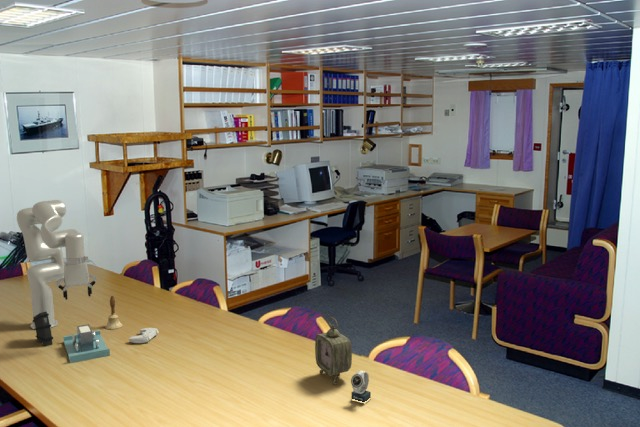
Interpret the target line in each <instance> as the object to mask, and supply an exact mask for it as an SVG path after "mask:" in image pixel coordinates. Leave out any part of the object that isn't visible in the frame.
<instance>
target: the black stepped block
mask: <svg viewBox="0 0 640 427" xmlns="http://www.w3.org/2000/svg"><path fill="white" fill-rule="evenodd" d="M48 315H49V314H47V311H46V312H42V313H39V314H38V315H36V316H35V317H33V316H32V319H34V320H32V323H35V329H34V330H35V332H36V333H35V334H36V335H35V338H36V341H38V342H39V343H41V344H42V345H44V346H45V347H49V346H52V345H53V340H54V337H53V335H52V329H51V328H50V327H51V324H50V323H49V318H48Z"/></svg>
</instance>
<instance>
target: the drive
mask: <svg viewBox="0 0 640 427" xmlns="http://www.w3.org/2000/svg"><path fill="white" fill-rule="evenodd" d="M76 330H77V331H76V332H77V333H76V334H78V343H79V346H80V349H81V351H82V352H85V351H90V350H94V345H93V332H92V331H93V330H92V329H91V326H90V324H82V325H78V326H77V325H76Z"/></svg>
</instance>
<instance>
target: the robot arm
mask: <svg viewBox="0 0 640 427" xmlns="http://www.w3.org/2000/svg"><path fill="white" fill-rule="evenodd" d="M66 214H67V208H66V204H65V203H64V201H62V200H59V199H54V200H52V199H51V200H44V201H39V202H36V203H35V204H33V206H31V207H26V208H22V209H20V210H18V211H17V213H16V222H17V225H18V228H19V229H20V231H21V234H22V237H23V241H24V247H25V253H26V257H27V259H28V261H30V262H32V263H37V262H43V263H38V264H33V265H31V266H30V267H29V268H28V269H27V271H26V277H27V279H28V280H27V281H28V285H29V288H30V289H29V290H30V300H31V308H32V309H31V310H32V319H33V317H35V316H36V315H38V314H39V313H42V312H46V311H47V314H49V315H48V318H49V323H50V324H51V327H50V328H54V327H56V326H58V325H59V320H58V319H55V310H54V302H53V301H54V300H53V299H54V298H53V297H54V296H53V290H52V289H51V287H50V286H49V285H48V284H47V283H49V282H53V281H54V282H55V285H56V286H57V287H58V289H60V290H61V291H62V294H63V298H64V299H65V300H66V301H67V300H68V291H67V290H68V288H69V287H71V288H72V287H79V286H85V285H86V286H87V295H88V297H91V295H92V294H93V290H92V288H93V287H94V285H95V284H96V282H97V281H98V276H96V275H93V274H91V273H89V267H88V263H87V260H89V256H86V255H85V243H84V235H83V233H81V232H79V231H78V230H77V229H74V228H73V229H72V228H71V229H63V230H58V229H59V228H60V227H61V226H62V222H63V219H62V218H63V217H65V215H66ZM37 225H41V227H40V228H39V227H38V226H37ZM63 248H65V258H66V259H65V260H64V255H63ZM49 260H51V261H50V262H49ZM44 261H48V262H44ZM65 261H66V263H65ZM90 279H92V281H91V282H90ZM63 282H64V285H61V283H63ZM33 320H34V319H33ZM33 320H32V321H33ZM30 329H31V330H35V323H34V322H32V323H30Z"/></svg>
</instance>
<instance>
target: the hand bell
mask: <svg viewBox="0 0 640 427" xmlns="http://www.w3.org/2000/svg"><path fill="white" fill-rule="evenodd" d="M109 305H110V308H111V310H110V312H111V313H110V315H108V319H107V323H106V325H105V326H104V329H106V330H118V329H120V328H122V327H123V323H121V322H120V319H119V316H118V314H116V313H115V312H116V310H115V307H116V298H115V297H114V295H110V298H109Z"/></svg>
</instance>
